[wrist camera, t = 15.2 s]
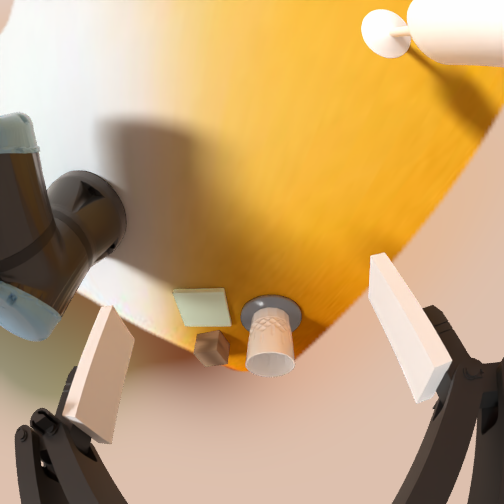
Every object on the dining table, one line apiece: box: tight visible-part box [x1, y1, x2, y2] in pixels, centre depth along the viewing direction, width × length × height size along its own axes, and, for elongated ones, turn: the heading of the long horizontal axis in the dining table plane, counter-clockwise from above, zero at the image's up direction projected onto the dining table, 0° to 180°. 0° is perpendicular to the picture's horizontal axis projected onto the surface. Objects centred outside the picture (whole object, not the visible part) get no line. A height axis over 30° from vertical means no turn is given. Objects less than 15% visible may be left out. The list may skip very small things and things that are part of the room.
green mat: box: [173, 288, 232, 326], centre depth 53 cm, size 9×9×1 cm
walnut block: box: [193, 330, 230, 367], centre depth 57 cm, size 5×5×5 cm
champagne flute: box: [362, 0, 504, 67], centre depth 16 cm, size 7×7×24 cm
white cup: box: [246, 307, 295, 377], centre depth 50 cm, size 8×8×10 cm
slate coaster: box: [241, 295, 301, 332], centre depth 54 cm, size 11×11×1 cm
